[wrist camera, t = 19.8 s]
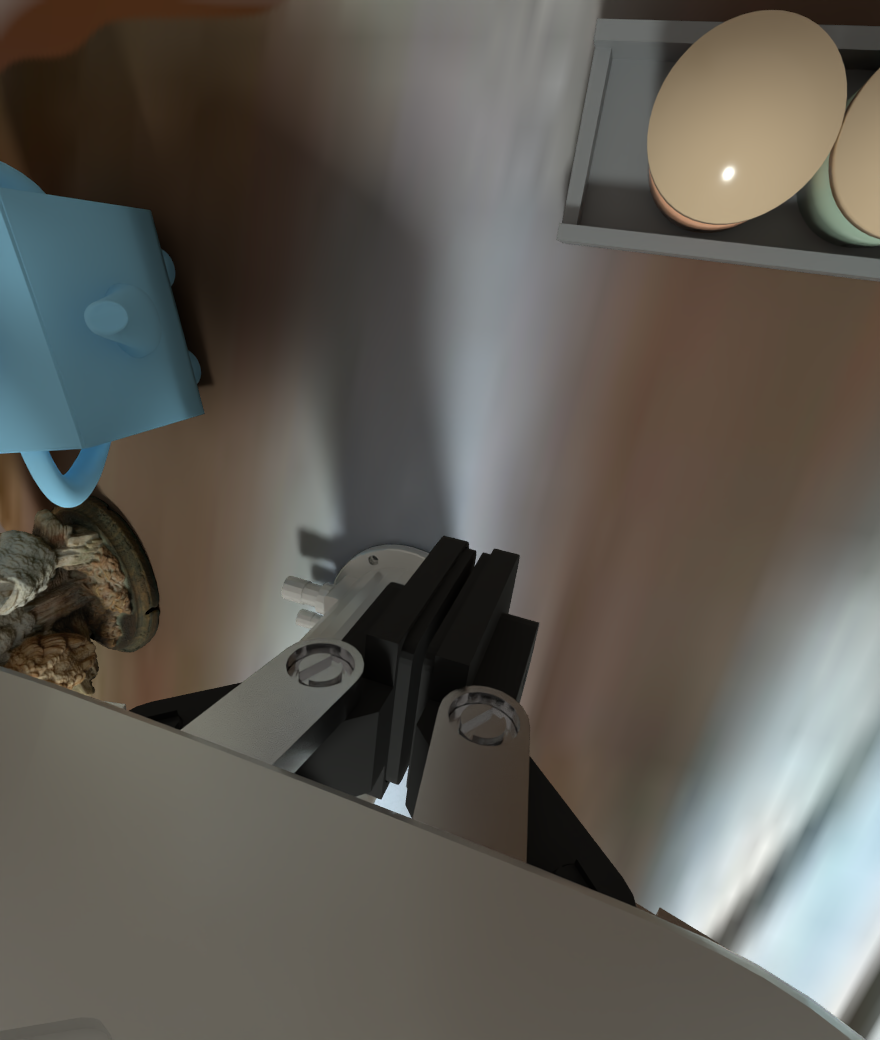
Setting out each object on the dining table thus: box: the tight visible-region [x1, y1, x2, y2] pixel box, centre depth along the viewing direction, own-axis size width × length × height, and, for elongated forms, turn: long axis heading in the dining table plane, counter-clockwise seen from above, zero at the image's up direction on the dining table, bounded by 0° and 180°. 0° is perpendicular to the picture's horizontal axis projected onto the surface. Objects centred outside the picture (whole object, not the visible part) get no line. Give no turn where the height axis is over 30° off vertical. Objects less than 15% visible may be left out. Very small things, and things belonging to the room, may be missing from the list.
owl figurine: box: [0, 496, 160, 696], centre depth 49 cm, size 18×12×17 cm, turn 8°
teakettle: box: [0, 161, 204, 508], centre depth 38 cm, size 19×19×15 cm
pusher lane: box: [556, 19, 880, 281], centre depth 27 cm, size 22×9×4 cm, turn 83°
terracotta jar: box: [647, 10, 847, 233], centre depth 26 cm, size 7×7×7 cm
